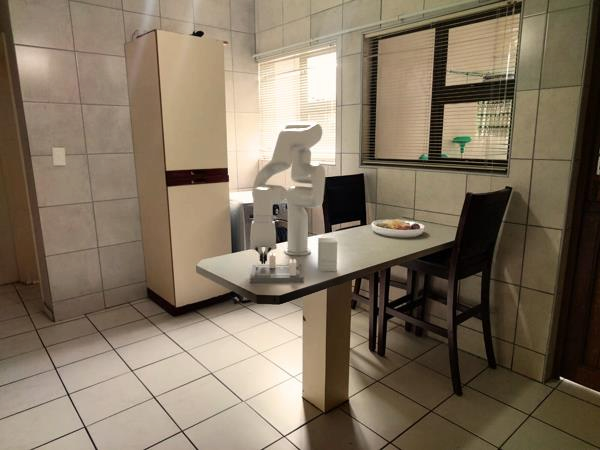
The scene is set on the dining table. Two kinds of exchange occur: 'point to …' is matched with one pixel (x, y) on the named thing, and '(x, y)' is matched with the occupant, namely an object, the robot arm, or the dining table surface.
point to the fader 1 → (271, 260)
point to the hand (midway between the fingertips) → (263, 262)
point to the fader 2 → (292, 267)
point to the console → (275, 274)
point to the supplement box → (327, 254)
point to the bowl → (397, 228)
